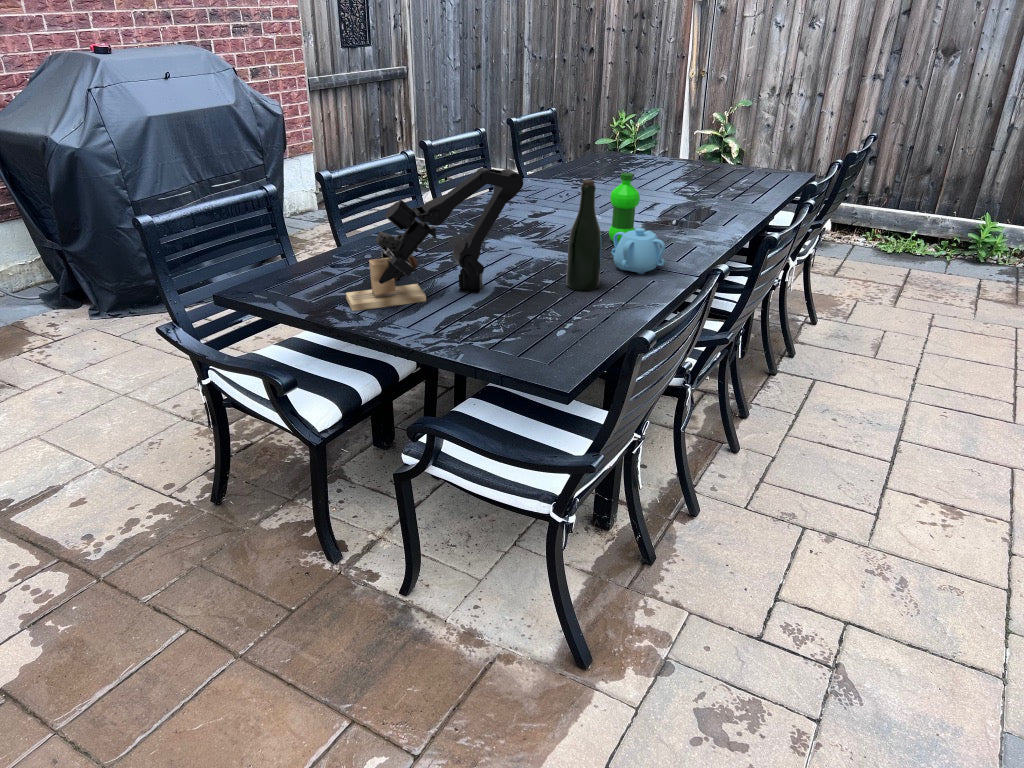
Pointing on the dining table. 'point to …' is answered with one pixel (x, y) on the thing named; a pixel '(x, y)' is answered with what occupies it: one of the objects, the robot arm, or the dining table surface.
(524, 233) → the dining table surface
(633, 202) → the plastic bottle
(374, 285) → the block
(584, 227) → the beer bottle
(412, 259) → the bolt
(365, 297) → the plank
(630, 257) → the decorative pot
